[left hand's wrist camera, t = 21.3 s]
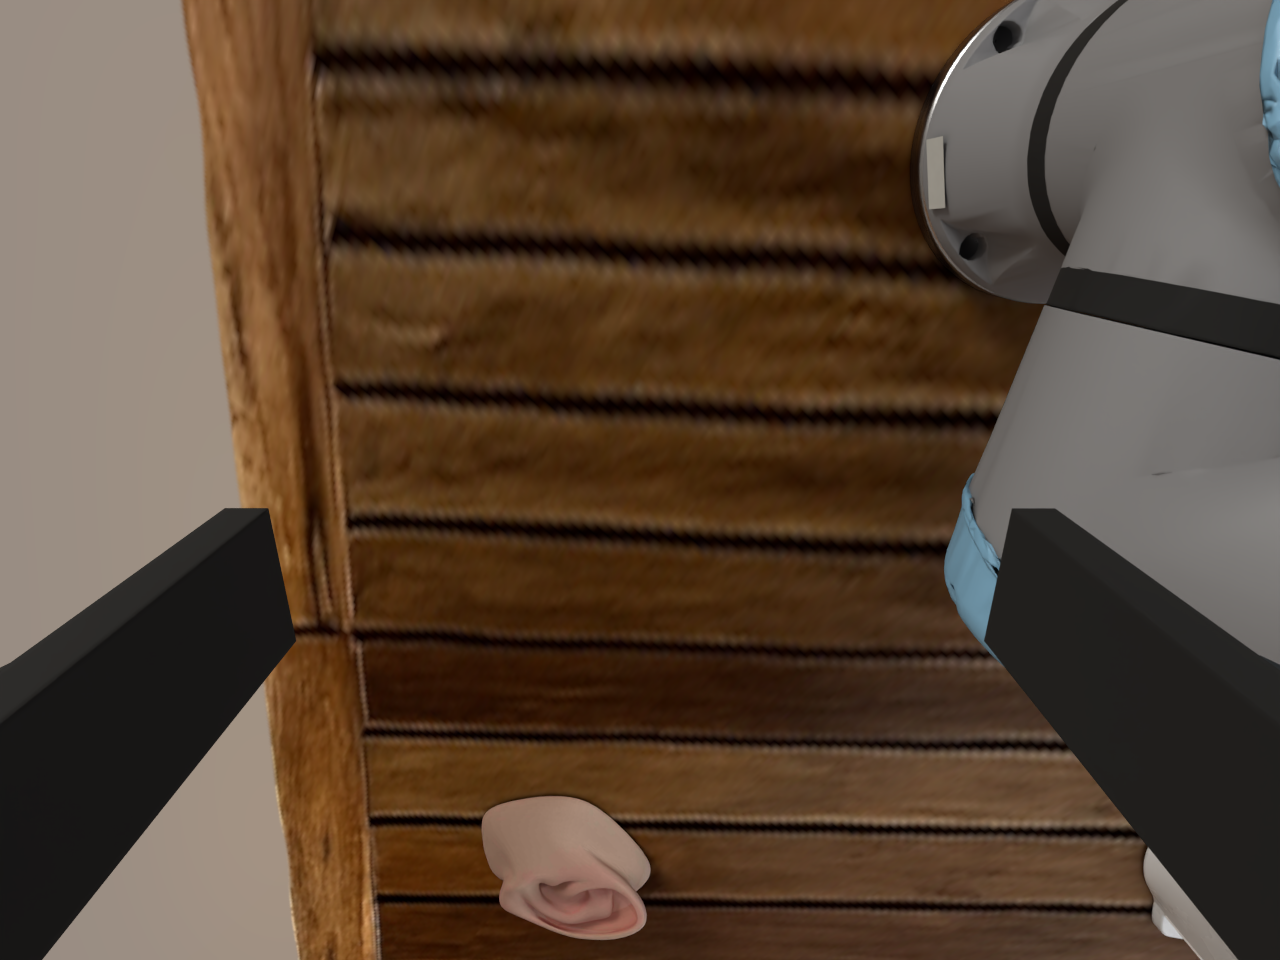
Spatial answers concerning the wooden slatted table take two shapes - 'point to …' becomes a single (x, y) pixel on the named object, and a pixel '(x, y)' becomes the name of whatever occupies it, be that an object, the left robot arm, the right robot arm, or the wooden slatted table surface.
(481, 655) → the wooden slatted table surface
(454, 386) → the wooden slatted table surface
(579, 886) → the anatomical model
